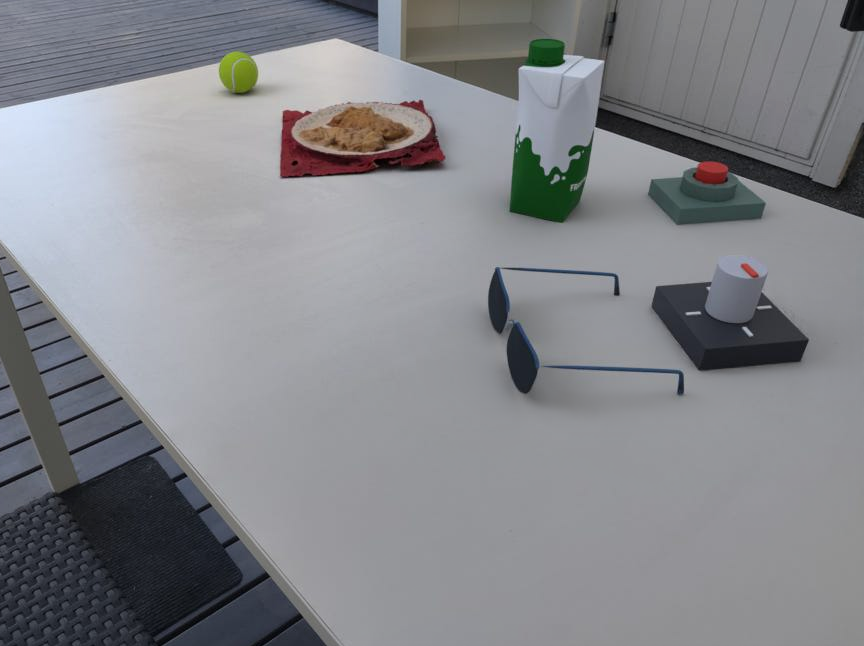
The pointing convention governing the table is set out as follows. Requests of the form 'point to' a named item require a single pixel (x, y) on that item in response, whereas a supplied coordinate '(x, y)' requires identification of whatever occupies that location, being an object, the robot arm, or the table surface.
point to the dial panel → (727, 330)
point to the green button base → (705, 199)
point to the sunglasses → (520, 348)
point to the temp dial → (736, 288)
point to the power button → (711, 172)
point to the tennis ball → (238, 72)
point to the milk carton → (553, 130)
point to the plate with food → (357, 138)
